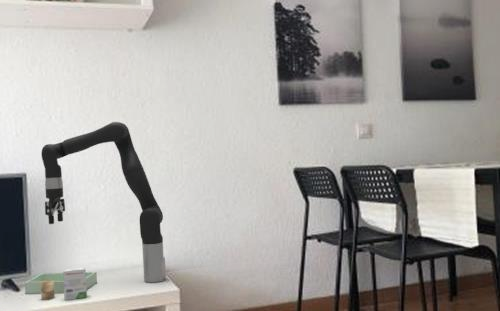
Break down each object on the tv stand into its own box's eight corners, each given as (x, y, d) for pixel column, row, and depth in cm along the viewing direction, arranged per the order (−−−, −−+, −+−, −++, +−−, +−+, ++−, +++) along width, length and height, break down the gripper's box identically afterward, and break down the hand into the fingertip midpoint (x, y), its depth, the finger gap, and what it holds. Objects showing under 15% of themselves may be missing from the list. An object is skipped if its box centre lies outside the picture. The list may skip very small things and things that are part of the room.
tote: (97, 282, 232) (96, 272, 232) (82, 292, 216) (82, 280, 216) (43, 284, 234) (42, 273, 234) (25, 293, 219) (24, 282, 219)
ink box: (87, 294, 213) (85, 266, 213) (86, 297, 208) (85, 269, 208) (65, 297, 211) (64, 268, 210) (64, 300, 206) (63, 271, 206)
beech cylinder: (56, 296, 213) (55, 279, 212) (51, 299, 208) (50, 282, 208) (45, 296, 213) (44, 280, 213) (39, 300, 208) (38, 283, 208)
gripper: (54, 188, 226) (56, 224, 226) (69, 186, 240) (70, 220, 241) (38, 189, 227) (40, 225, 227) (53, 186, 241) (55, 220, 241)
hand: (56, 222), depth 234 cm, fingers open, 8 cm apart
